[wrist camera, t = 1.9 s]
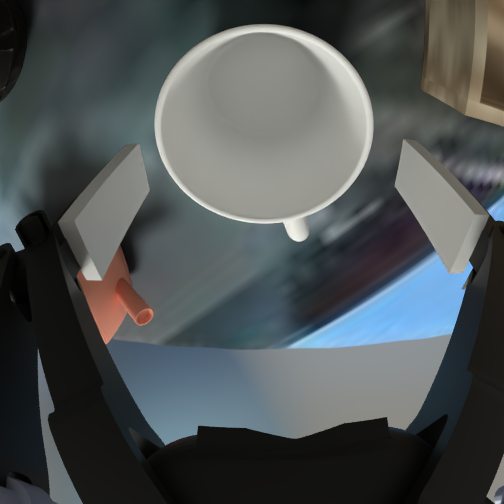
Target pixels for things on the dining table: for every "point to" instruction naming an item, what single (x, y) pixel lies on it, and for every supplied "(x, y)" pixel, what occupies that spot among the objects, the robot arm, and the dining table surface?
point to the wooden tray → (466, 56)
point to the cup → (264, 125)
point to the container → (11, 45)
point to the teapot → (114, 298)
